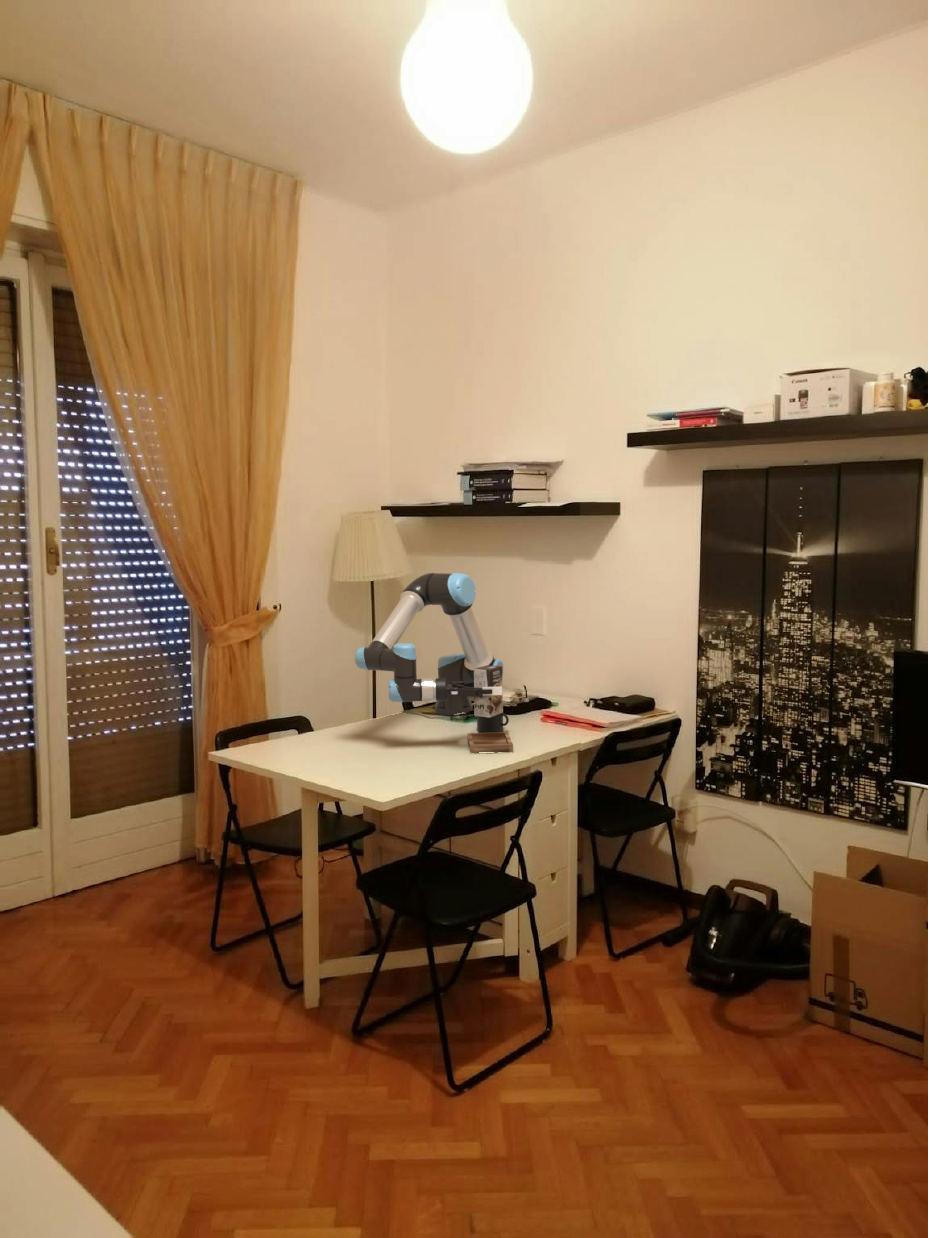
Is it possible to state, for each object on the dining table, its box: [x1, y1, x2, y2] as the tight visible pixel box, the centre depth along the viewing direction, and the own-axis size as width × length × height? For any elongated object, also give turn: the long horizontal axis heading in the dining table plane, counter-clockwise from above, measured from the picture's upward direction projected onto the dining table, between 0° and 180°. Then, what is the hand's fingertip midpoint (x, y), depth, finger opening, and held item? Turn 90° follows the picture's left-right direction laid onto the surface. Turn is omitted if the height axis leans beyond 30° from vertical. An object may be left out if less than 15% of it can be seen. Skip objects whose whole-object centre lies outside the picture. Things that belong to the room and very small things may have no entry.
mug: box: [476, 712, 510, 733], centre depth 327 cm, size 9×12×9 cm
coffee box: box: [473, 665, 504, 717], centre depth 304 cm, size 9×6×16 cm
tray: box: [467, 731, 514, 754], centre depth 307 cm, size 18×14×3 cm
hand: (500, 687), depth 305 cm, fingers closed on coffee box, 10 cm apart
